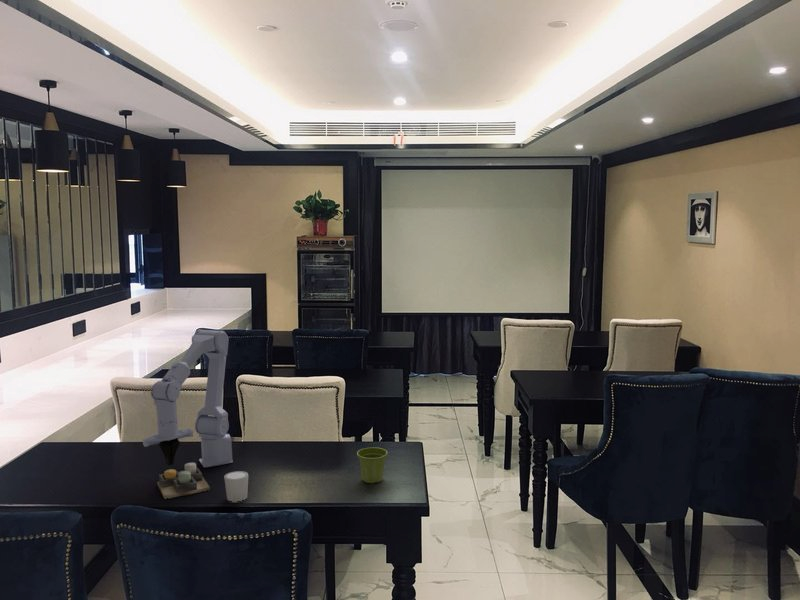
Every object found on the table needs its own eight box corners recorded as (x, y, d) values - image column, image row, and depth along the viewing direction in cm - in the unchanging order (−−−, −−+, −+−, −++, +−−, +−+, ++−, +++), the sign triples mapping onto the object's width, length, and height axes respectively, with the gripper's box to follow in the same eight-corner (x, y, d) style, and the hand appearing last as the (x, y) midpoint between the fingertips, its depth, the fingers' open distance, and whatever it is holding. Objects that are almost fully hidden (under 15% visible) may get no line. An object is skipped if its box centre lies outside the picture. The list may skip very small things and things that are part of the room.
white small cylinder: (195, 471, 214) (194, 461, 214) (197, 474, 211) (197, 465, 211) (184, 473, 212) (183, 463, 212) (186, 476, 210) (185, 467, 209)
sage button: (189, 479, 207) (189, 470, 207) (192, 483, 204) (191, 473, 204) (178, 482, 205) (177, 472, 205) (180, 486, 202) (179, 476, 202)
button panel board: (200, 476, 216) (200, 467, 216) (209, 490, 205) (209, 480, 205) (157, 484, 210) (156, 475, 210) (164, 499, 199) (163, 489, 199)
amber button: (175, 478, 211) (174, 468, 211) (177, 481, 208) (177, 472, 208) (163, 480, 210) (163, 470, 209) (165, 483, 207) (165, 474, 206)
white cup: (227, 494, 202) (226, 471, 202) (250, 493, 203) (249, 470, 202) (223, 503, 196) (222, 480, 195) (247, 502, 196) (246, 479, 195)
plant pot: (392, 476, 215) (391, 449, 214) (381, 487, 206) (381, 459, 205) (364, 472, 218) (363, 446, 217) (352, 483, 209) (352, 456, 208)
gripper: (185, 412, 214) (188, 455, 216) (138, 422, 205) (141, 466, 207) (194, 417, 209) (197, 461, 211) (146, 427, 200) (149, 472, 202)
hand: (169, 464), depth 209 cm, fingers closed
